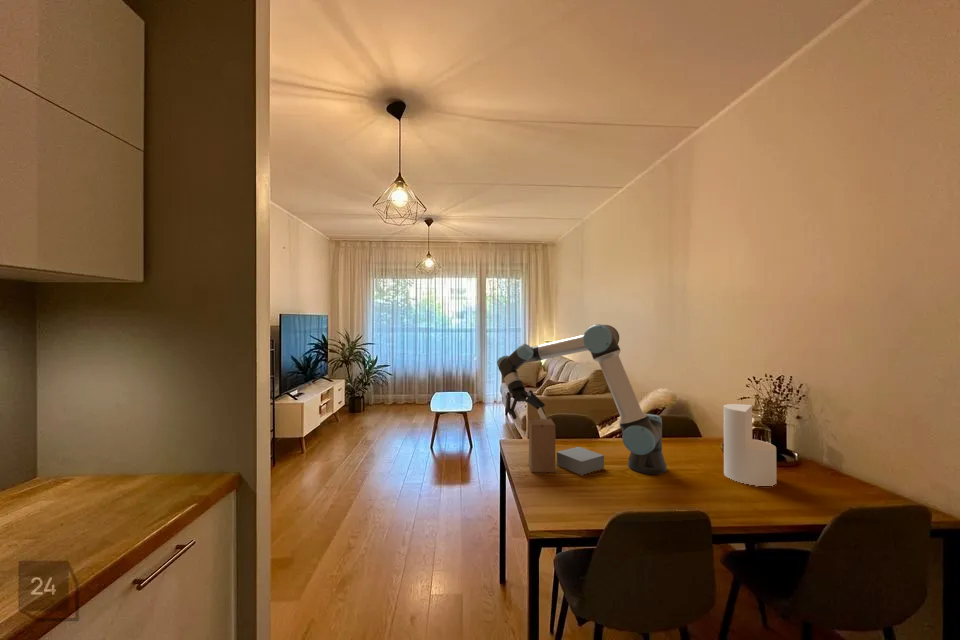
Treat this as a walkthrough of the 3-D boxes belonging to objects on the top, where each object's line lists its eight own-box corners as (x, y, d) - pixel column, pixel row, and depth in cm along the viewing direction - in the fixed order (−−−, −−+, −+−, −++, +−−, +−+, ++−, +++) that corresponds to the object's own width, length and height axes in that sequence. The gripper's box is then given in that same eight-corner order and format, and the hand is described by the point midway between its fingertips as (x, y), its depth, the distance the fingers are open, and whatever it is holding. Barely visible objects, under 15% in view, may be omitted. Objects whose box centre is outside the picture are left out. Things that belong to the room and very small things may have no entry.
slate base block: (603, 469, 160) (603, 455, 161) (581, 476, 153) (581, 461, 153) (578, 459, 172) (578, 446, 172) (556, 465, 164) (556, 452, 165)
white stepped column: (719, 478, 151) (719, 408, 152) (728, 466, 164) (727, 402, 164) (774, 491, 139) (773, 415, 140) (778, 477, 152) (778, 408, 153)
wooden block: (555, 473, 155) (555, 424, 156) (531, 472, 156) (531, 424, 156) (551, 464, 165) (551, 418, 166) (528, 463, 166) (528, 418, 166)
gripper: (532, 387, 187) (551, 424, 174) (488, 390, 176) (505, 431, 162) (539, 377, 183) (559, 415, 169) (494, 380, 171) (512, 421, 158)
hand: (532, 423), depth 166 cm, fingers open, 13 cm apart
